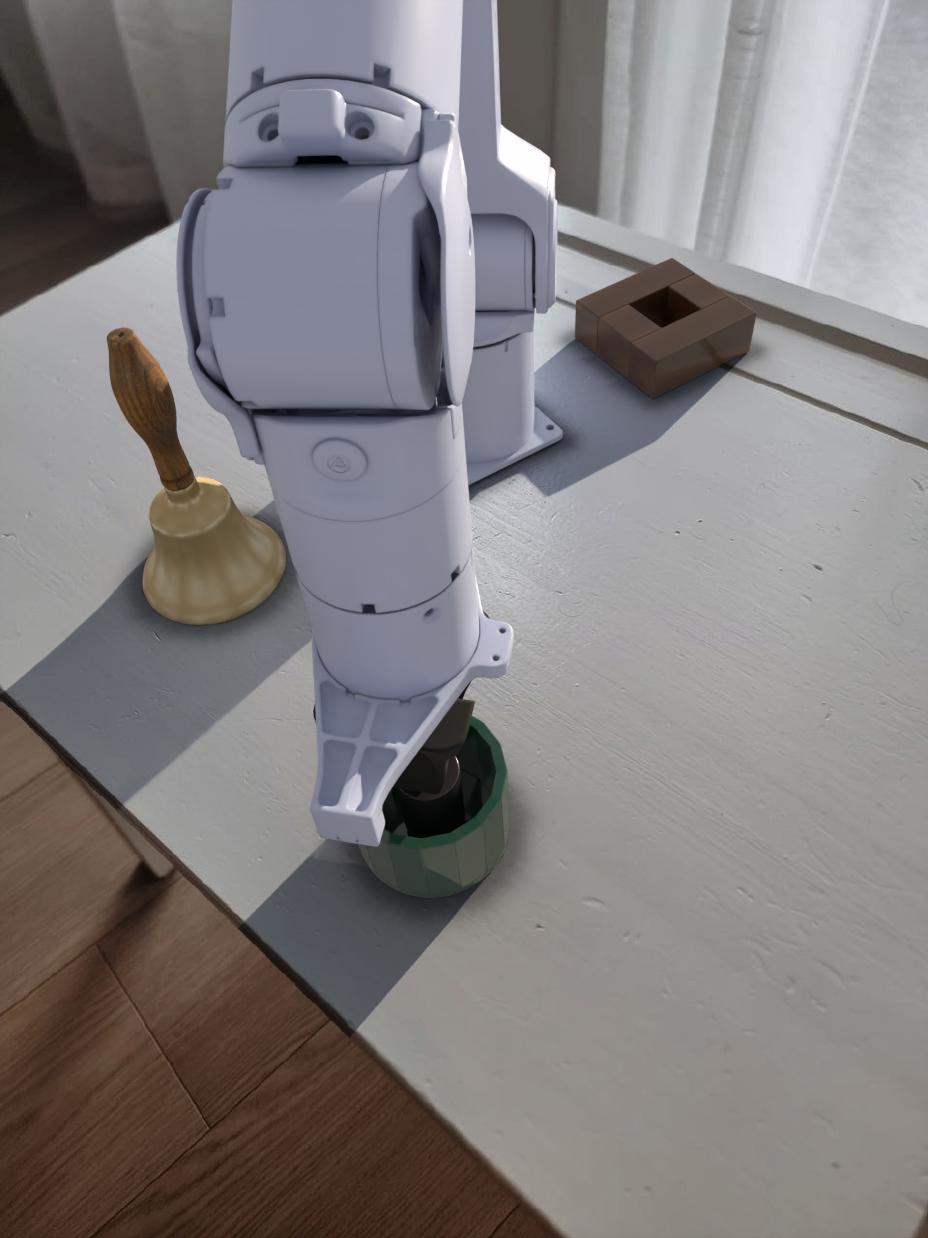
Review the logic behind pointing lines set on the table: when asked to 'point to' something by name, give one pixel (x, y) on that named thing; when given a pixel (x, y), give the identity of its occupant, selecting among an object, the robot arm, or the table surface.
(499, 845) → the cup
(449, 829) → the peg-topped grey cylinder
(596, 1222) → the table surface
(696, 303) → the frame
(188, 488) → the hand bell
